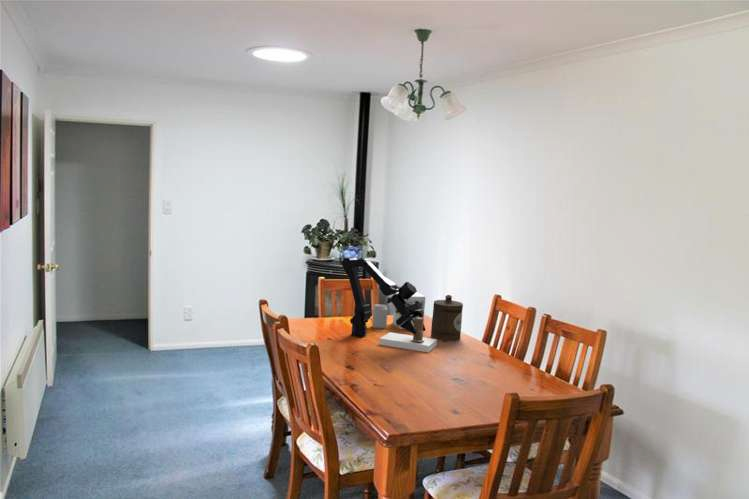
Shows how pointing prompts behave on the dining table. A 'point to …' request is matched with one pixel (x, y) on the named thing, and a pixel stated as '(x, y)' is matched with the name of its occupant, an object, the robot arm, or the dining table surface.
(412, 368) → the dining table surface
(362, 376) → the dining table surface
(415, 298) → the supplement box
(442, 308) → the wooden container
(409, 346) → the grey board
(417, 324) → the walnut peg
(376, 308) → the can
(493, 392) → the dining table surface
